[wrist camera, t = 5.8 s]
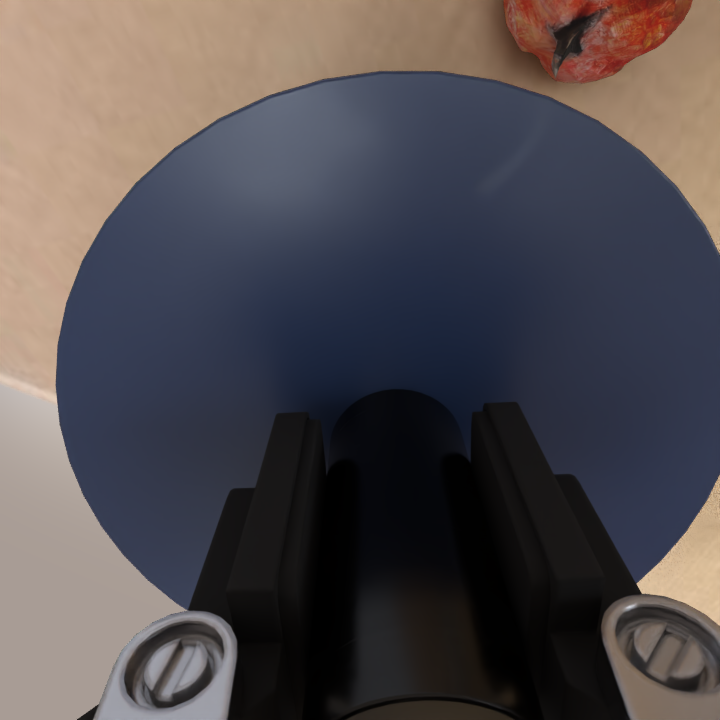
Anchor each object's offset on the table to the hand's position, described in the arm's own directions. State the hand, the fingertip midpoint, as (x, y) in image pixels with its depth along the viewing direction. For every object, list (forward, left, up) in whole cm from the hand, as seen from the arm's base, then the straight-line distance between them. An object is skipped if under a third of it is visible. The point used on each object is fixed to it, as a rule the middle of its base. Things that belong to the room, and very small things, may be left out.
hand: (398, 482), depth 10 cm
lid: (0, 0, -2) cm, 2 cm away
